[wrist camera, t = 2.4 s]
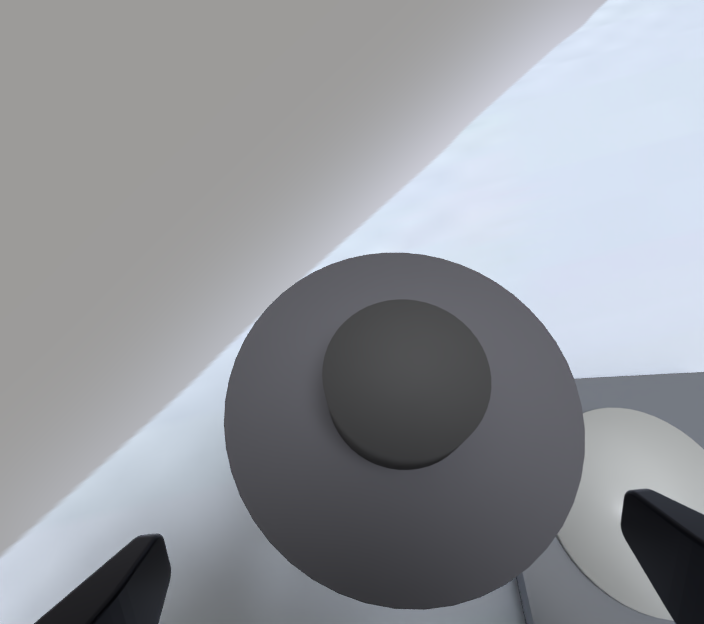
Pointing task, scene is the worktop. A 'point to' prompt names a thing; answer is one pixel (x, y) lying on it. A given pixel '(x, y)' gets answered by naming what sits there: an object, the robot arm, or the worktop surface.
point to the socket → (619, 499)
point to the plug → (404, 431)
